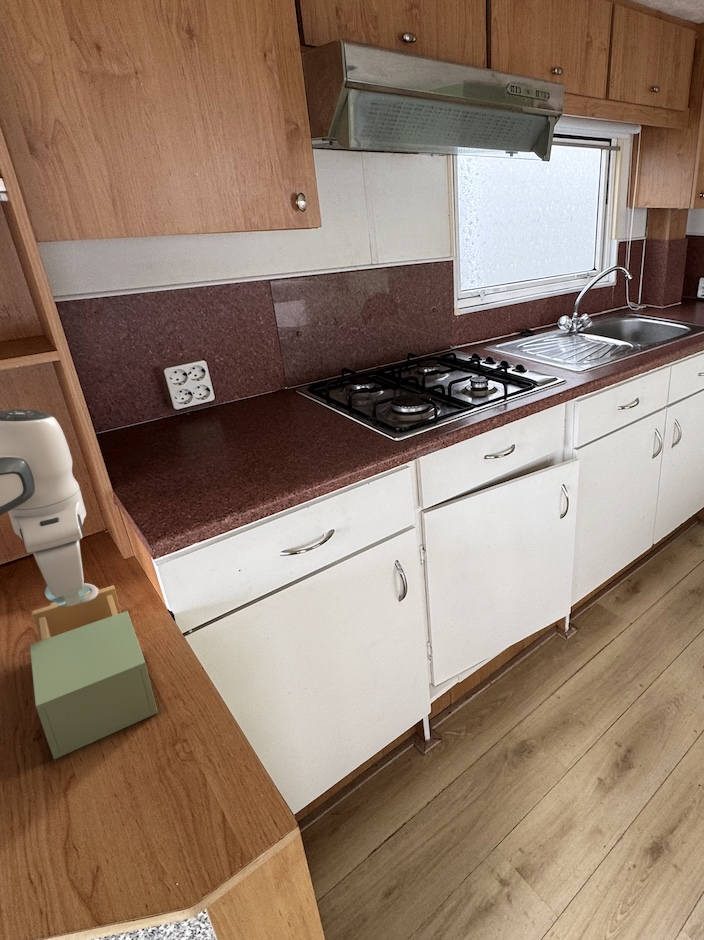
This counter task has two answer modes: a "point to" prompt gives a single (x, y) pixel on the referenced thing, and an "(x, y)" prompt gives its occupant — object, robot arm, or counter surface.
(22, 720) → the counter surface
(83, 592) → the pacifier
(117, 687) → the cabinet
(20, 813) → the counter surface
